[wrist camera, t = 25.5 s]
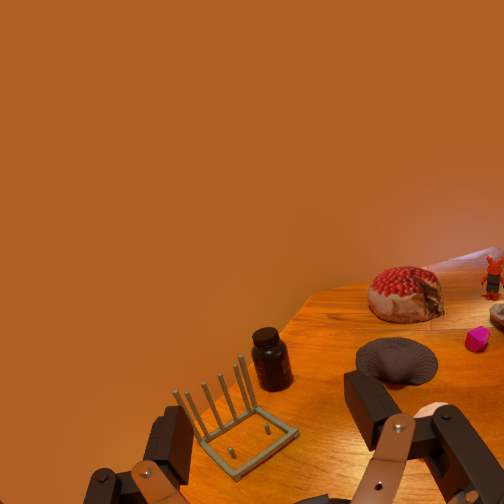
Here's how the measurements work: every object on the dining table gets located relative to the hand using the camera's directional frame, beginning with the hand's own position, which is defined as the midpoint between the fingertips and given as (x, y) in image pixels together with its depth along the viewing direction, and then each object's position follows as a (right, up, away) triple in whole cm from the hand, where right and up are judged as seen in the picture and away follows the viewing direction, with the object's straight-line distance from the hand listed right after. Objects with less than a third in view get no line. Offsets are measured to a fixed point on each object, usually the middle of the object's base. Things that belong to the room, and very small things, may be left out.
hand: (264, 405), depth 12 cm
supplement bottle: (+4, -19, +41) cm, 45 cm away
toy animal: (+66, -5, +43) cm, 79 cm away
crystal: (+47, -13, +30) cm, 57 cm away
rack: (-1, -24, +26) cm, 35 cm away
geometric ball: (+25, -21, +15) cm, 36 cm away
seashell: (+28, -15, +36) cm, 48 cm away
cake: (+43, -7, +56) cm, 71 cm away
